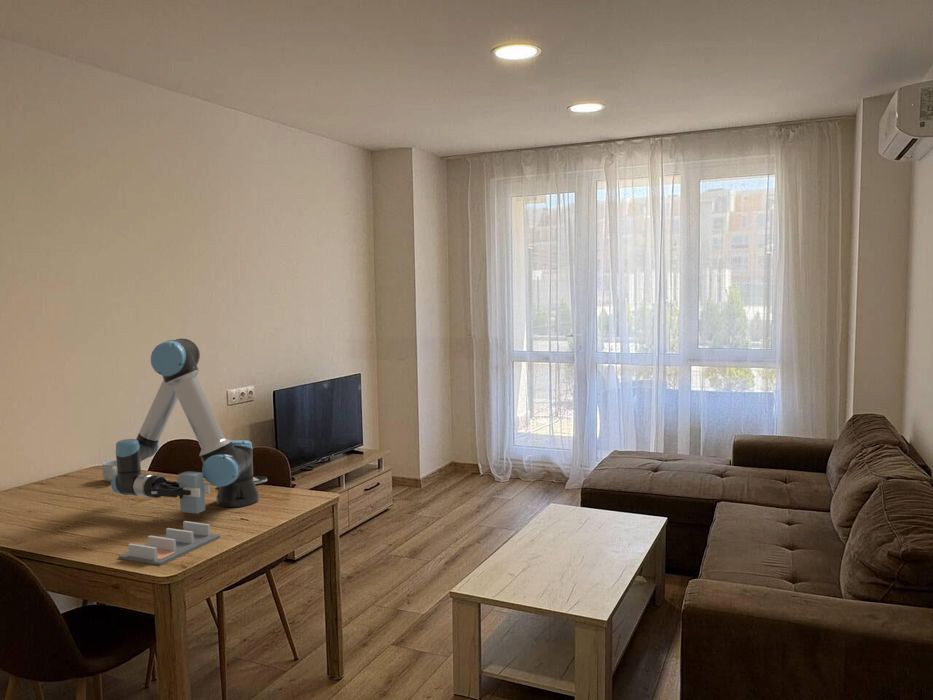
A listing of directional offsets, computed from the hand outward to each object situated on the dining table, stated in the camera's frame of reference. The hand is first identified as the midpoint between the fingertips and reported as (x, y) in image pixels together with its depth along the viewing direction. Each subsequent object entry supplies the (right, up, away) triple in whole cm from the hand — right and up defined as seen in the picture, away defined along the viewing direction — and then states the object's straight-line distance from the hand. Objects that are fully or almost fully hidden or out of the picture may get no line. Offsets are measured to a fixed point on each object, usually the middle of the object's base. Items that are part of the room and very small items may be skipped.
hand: (204, 491), depth 246 cm
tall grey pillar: (-5, -7, +3) cm, 9 cm away
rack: (-2, -13, -22) cm, 25 cm away
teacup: (-57, -7, +57) cm, 81 cm away
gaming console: (-2, -8, +50) cm, 51 cm away
